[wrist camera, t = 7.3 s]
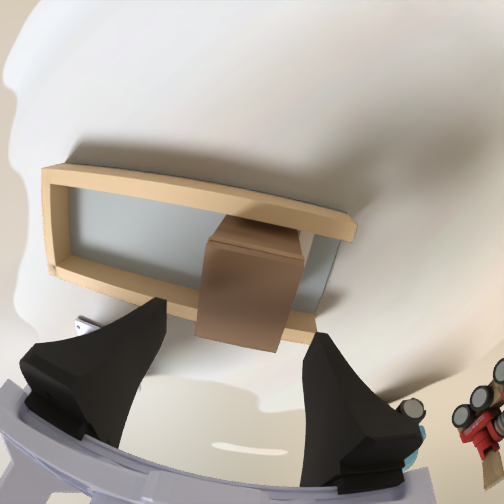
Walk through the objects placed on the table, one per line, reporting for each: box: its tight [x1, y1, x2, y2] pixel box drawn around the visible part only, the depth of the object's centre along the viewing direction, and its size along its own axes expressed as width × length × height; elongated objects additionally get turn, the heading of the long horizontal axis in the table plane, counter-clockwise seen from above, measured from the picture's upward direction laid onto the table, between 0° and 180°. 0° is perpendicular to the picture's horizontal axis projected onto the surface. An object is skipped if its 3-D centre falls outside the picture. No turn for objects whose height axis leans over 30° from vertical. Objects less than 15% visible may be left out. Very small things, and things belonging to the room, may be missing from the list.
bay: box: [41, 163, 358, 345], centre depth 19 cm, size 10×24×3 cm, turn 79°
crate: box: [195, 214, 305, 353], centre depth 17 cm, size 6×5×6 cm
